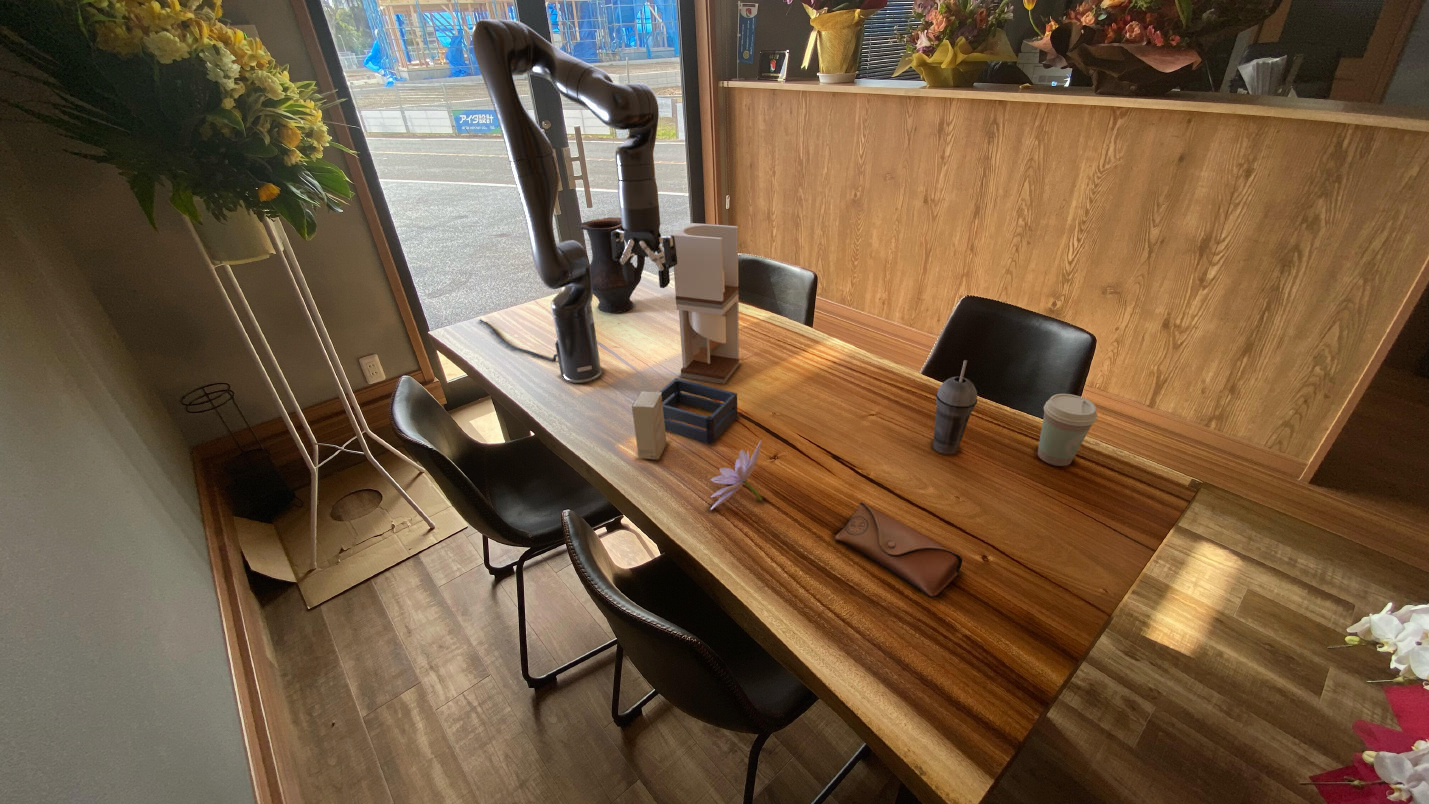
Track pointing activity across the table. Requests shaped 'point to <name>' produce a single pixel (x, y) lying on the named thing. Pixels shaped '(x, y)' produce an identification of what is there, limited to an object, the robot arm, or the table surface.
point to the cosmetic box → (649, 424)
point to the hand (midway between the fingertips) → (646, 283)
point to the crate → (713, 423)
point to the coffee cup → (1065, 427)
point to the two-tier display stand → (708, 300)
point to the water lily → (736, 476)
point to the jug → (609, 267)
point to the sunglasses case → (901, 550)
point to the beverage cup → (953, 412)
